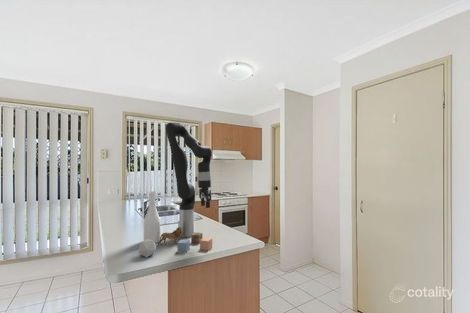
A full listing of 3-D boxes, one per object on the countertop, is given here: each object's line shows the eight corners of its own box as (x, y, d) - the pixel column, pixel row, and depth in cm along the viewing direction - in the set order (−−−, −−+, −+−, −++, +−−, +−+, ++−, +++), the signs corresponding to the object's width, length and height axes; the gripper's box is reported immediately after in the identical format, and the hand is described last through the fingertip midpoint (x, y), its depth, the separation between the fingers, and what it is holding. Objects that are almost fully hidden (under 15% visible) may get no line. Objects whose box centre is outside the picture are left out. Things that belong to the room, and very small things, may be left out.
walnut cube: (191, 243, 141) (191, 234, 141) (194, 240, 145) (194, 232, 146) (199, 243, 139) (199, 235, 140) (202, 241, 144) (202, 232, 144)
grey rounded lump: (145, 252, 127) (134, 240, 123) (160, 244, 128) (149, 232, 124) (144, 264, 120) (133, 251, 115) (159, 255, 120) (149, 242, 116)
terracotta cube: (200, 249, 130) (200, 240, 130) (204, 246, 135) (204, 237, 135) (208, 250, 128) (208, 241, 129) (212, 247, 133) (212, 238, 133)
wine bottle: (163, 240, 146) (164, 191, 147) (152, 245, 137) (152, 192, 138) (151, 238, 150) (152, 190, 151) (140, 242, 141) (140, 192, 142)
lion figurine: (181, 240, 145) (181, 225, 145) (183, 243, 140) (183, 227, 141) (156, 244, 139) (156, 228, 139) (157, 247, 134) (158, 231, 134)
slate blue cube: (177, 252, 126) (177, 242, 126) (180, 249, 131) (180, 239, 131) (186, 252, 125) (186, 243, 126) (189, 249, 130) (189, 240, 131)
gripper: (194, 179, 147) (195, 205, 146) (202, 180, 134) (203, 209, 134) (206, 178, 150) (207, 204, 150) (214, 179, 138) (215, 207, 137)
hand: (205, 206), depth 142 cm, fingers open, 8 cm apart
